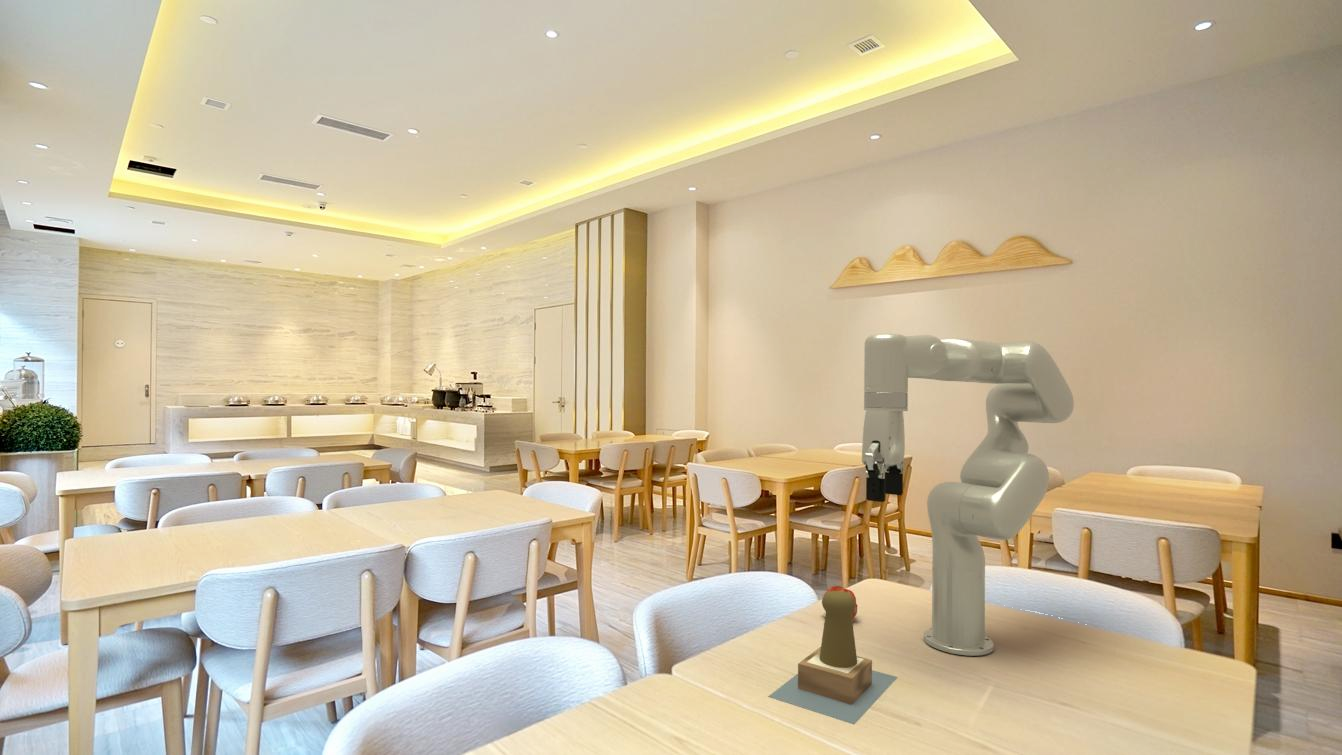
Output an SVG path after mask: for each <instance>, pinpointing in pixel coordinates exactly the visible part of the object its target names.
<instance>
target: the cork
mask: <svg viewBox="0 0 1342 755" xmlns="http://www.w3.org/2000/svg"><path fill="white" fill-rule="evenodd" d="M826 592H827V591H826ZM826 592H825V593H826ZM825 593H824V594H825ZM824 594H823V596H824V597H823V596H822V598H823V605H822V607H823V609H824V611H825V617H824V623H823V631H822V637H821V645H820V647H821V650H820V658H819V659H820V661H821V662H823V663H824V664H826V665H829V666H832V667H838V668H849V667H853V666H855V665H856V664H857V656H858V655H857V649H856V640H855V633H854V624H853V623H854V622H853V619H852V613H853V612H854V609H855V600H854V598H853V596H852V595H851V594H849V593H847V592H843V591H829V592H827V593H826V594H825V595H824Z"/></svg>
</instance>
